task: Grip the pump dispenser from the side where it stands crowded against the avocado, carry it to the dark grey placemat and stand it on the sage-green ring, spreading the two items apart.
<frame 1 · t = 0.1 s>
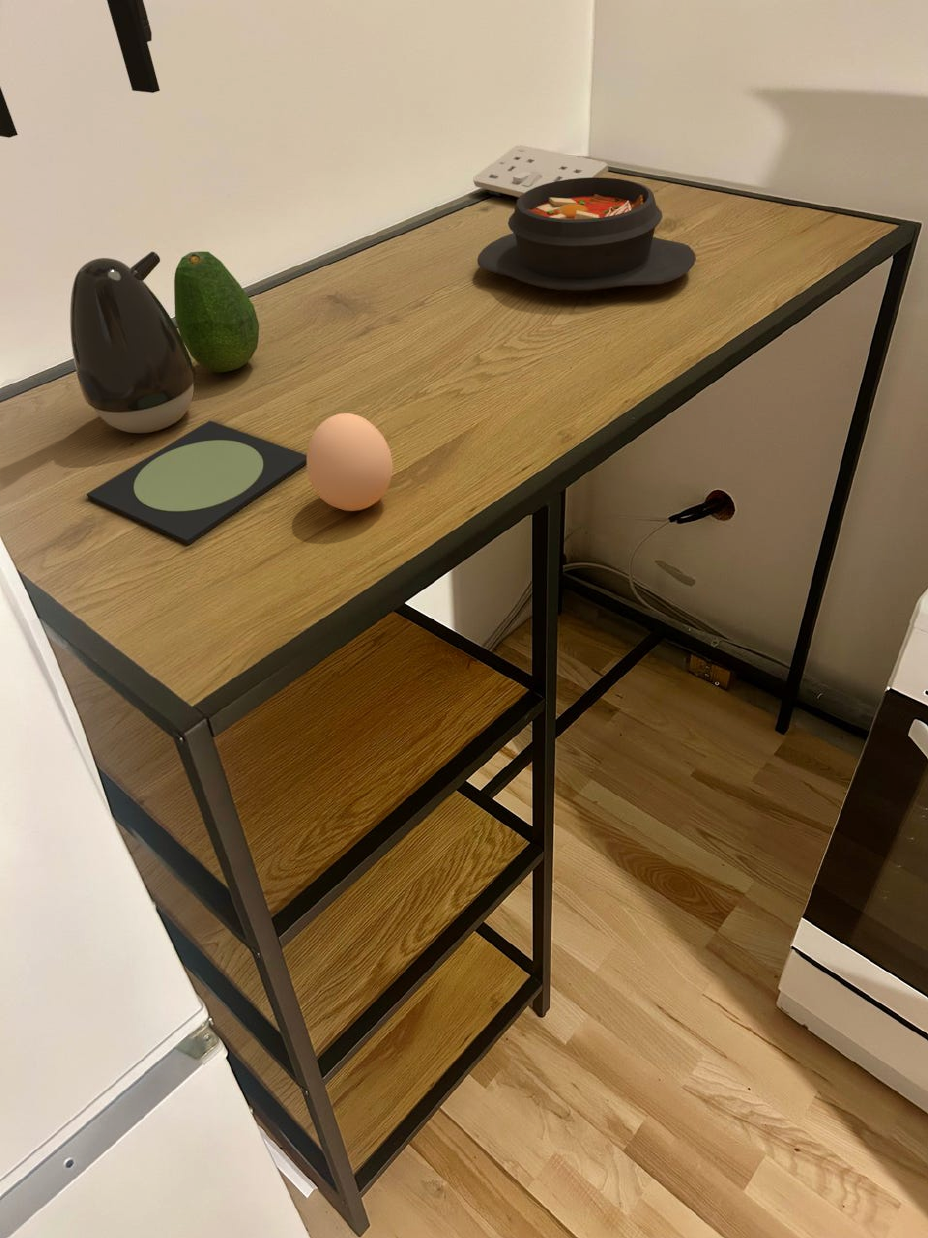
hand: (78, 111, 73), 26 cm above the table, tool pointing down, fingers open, 13 cm apart
casserole: (584, 275, 106), on the table
pump dispenser: (154, 420, 88), on the table
wall socket: (537, 198, 128), on the table
placemat: (200, 479, 79), on the table
avocado: (231, 370, 95), on the table
egg: (357, 506, 75), on the table
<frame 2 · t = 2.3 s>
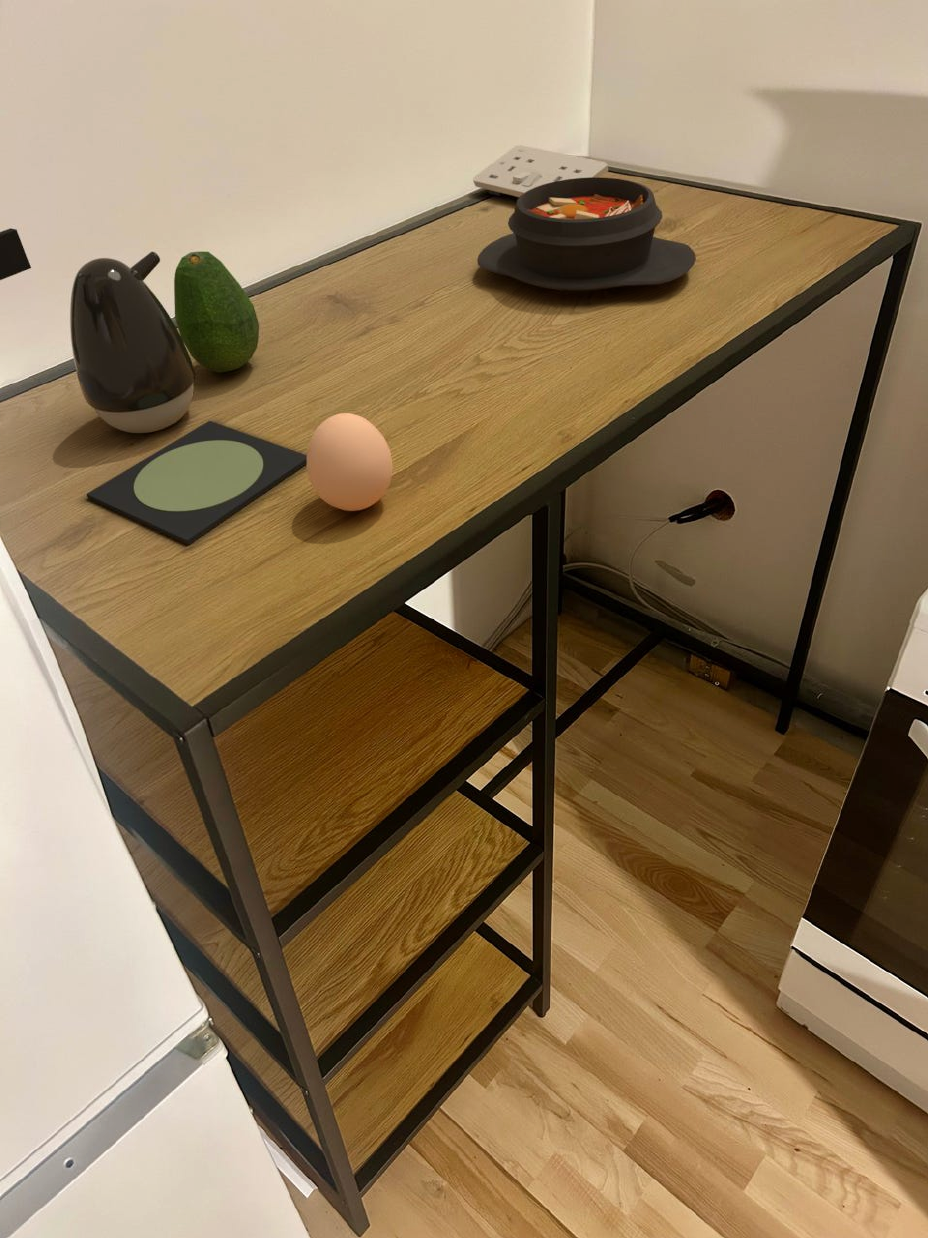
nothing on the table moved.
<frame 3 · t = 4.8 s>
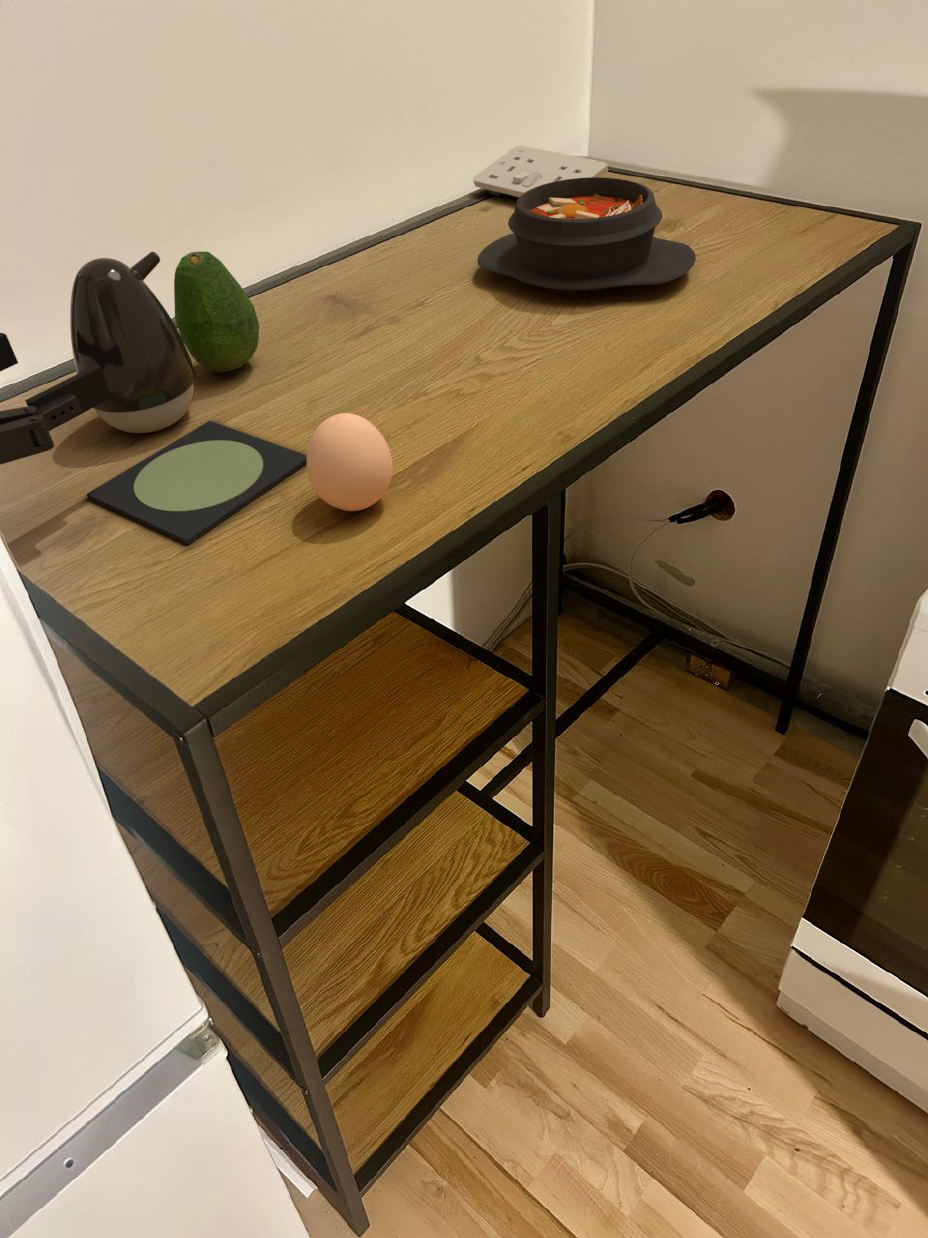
hand: (55, 363, 78), 9 cm above the table, tool horizontal, fingers open, 13 cm apart
nothing on the table moved.
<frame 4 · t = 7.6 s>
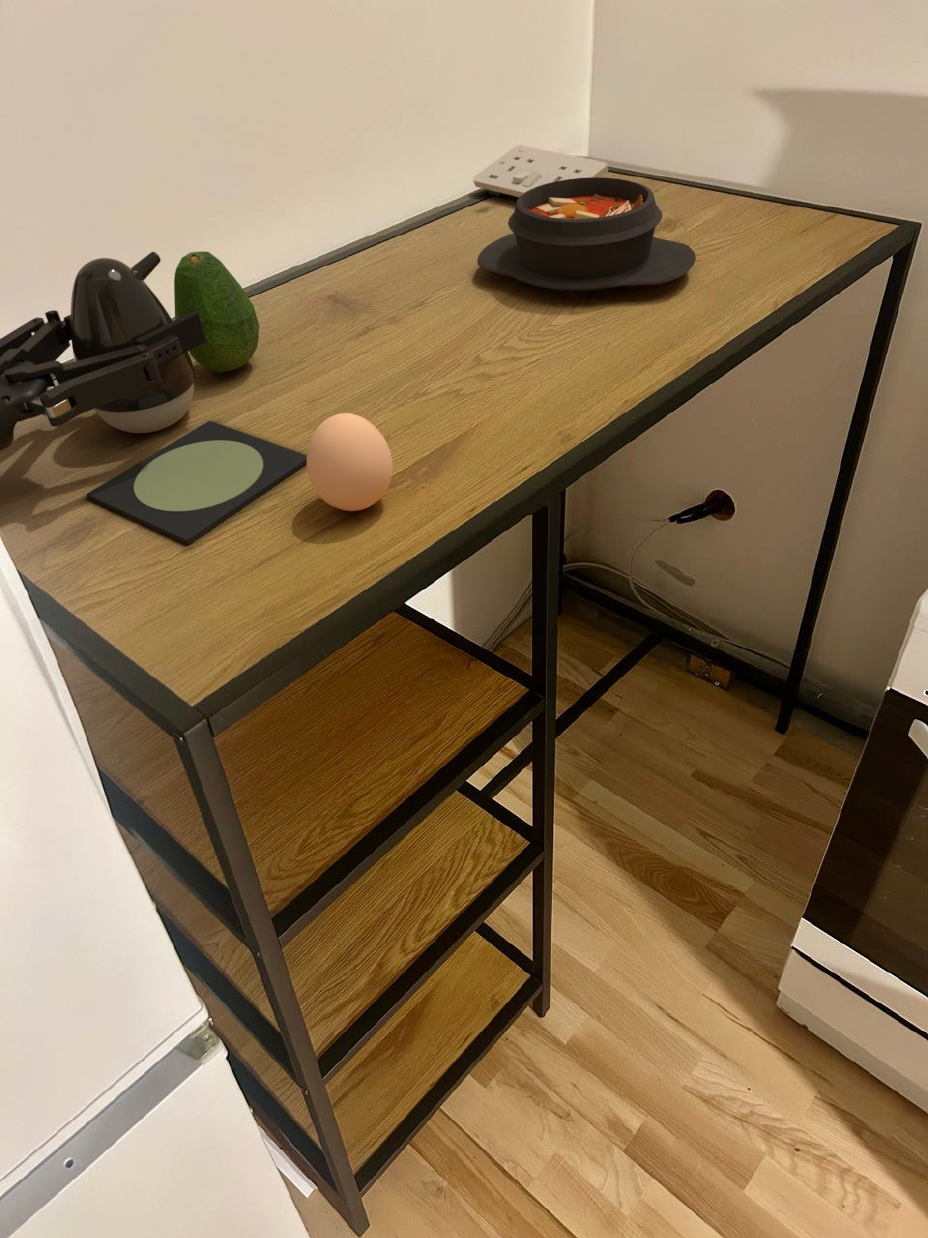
hand: (162, 315, 85), 8 cm above the table, tool horizontal, fingers closed on pump dispenser, 9 cm apart
pump dispenser: (154, 420, 88), on the table, touching gripper
everything else where it was.
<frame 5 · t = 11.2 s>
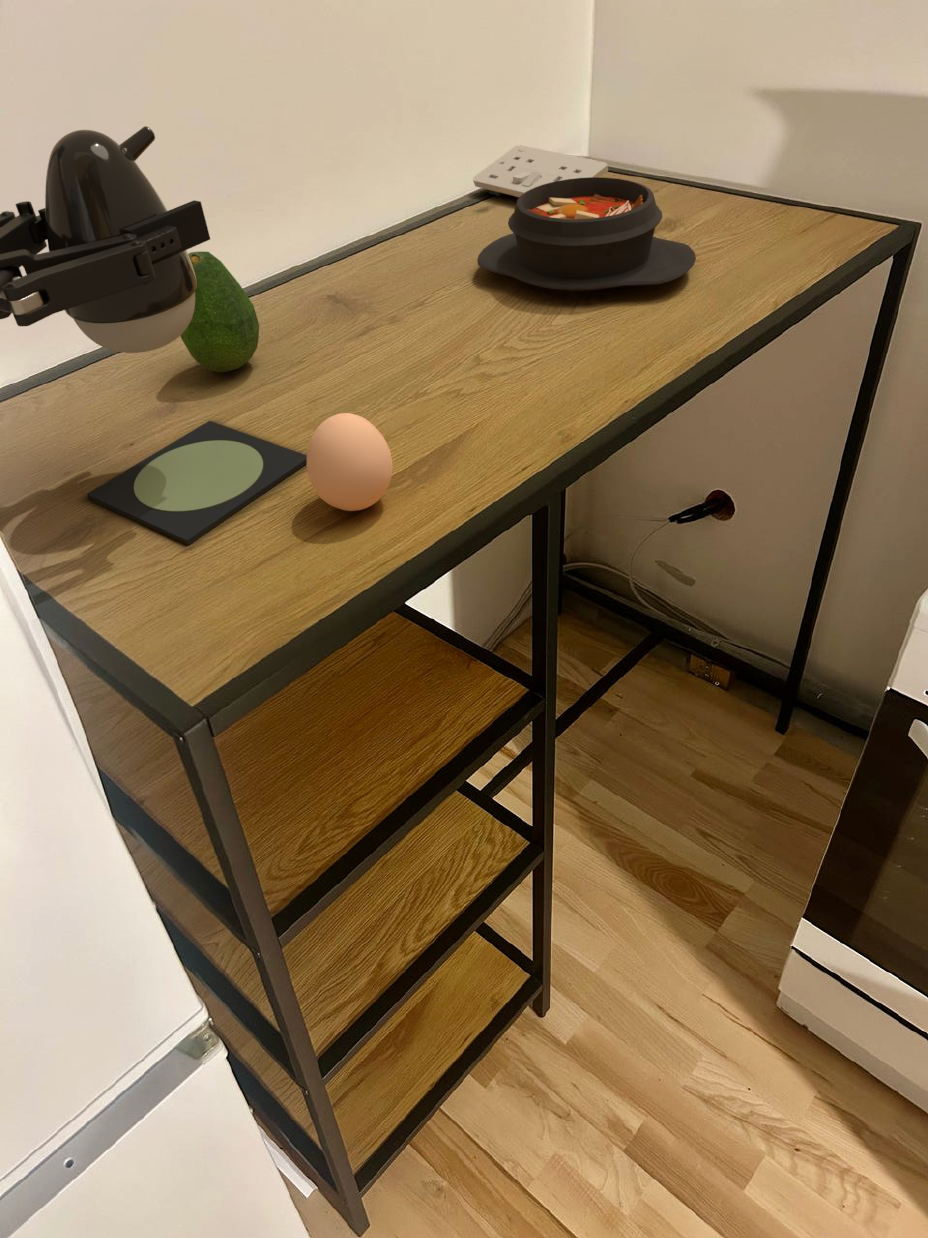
hand: (158, 211, 71), 20 cm above the table, tool horizontal, fingers closed on pump dispenser, 9 cm apart
pump dispenser: (147, 340, 74), point 11 cm above the table, touching gripper
everything else where it was.
when the fingers open (9 cm above the table, at t = 15.1 s): pump dispenser stays where it is, resting on placemat.
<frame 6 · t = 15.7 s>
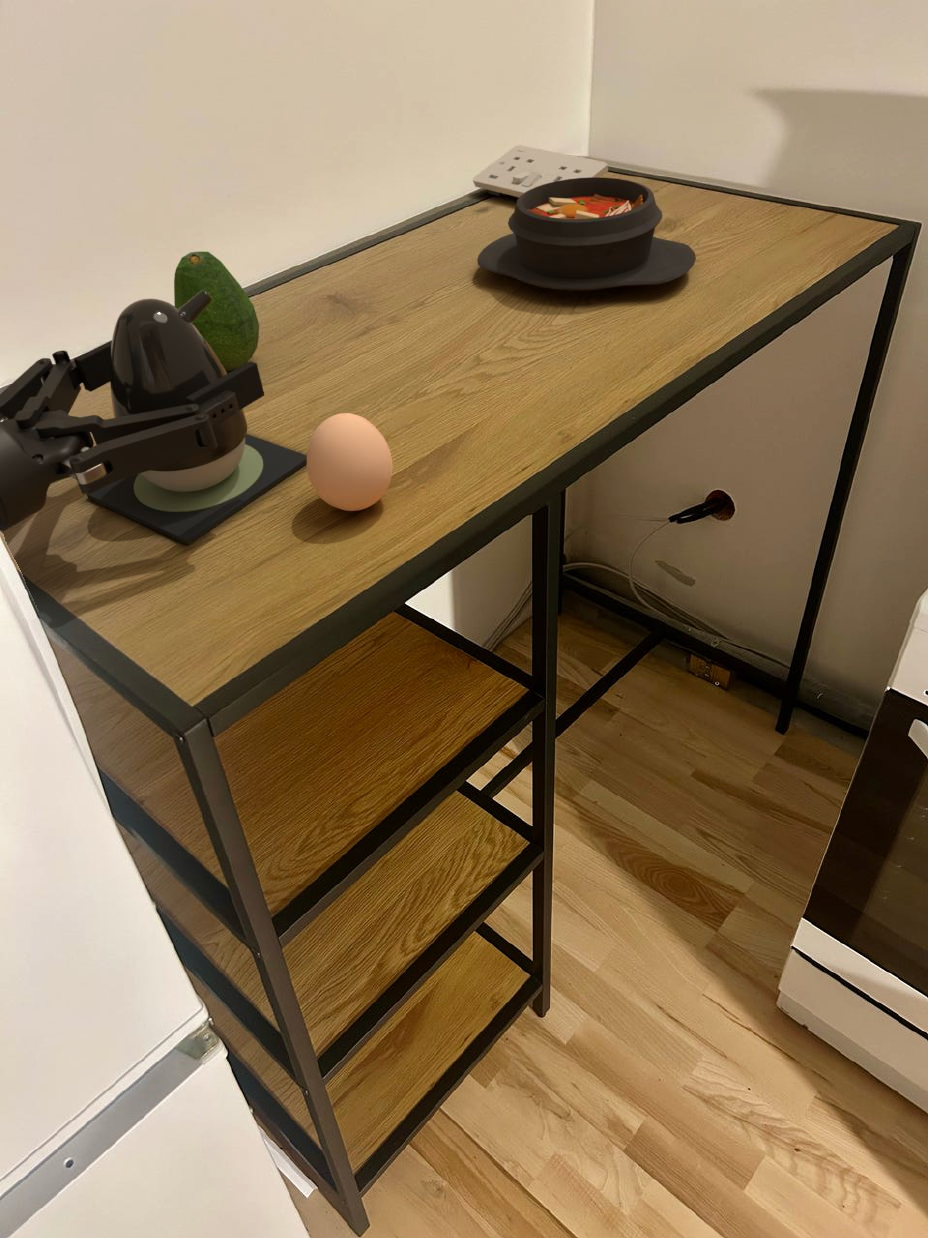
hand: (199, 359, 75), 10 cm above the table, tool horizontal, fingers open, 13 cm apart
pump dispenser: (199, 475, 79), resting on placemat
everything else where it was.
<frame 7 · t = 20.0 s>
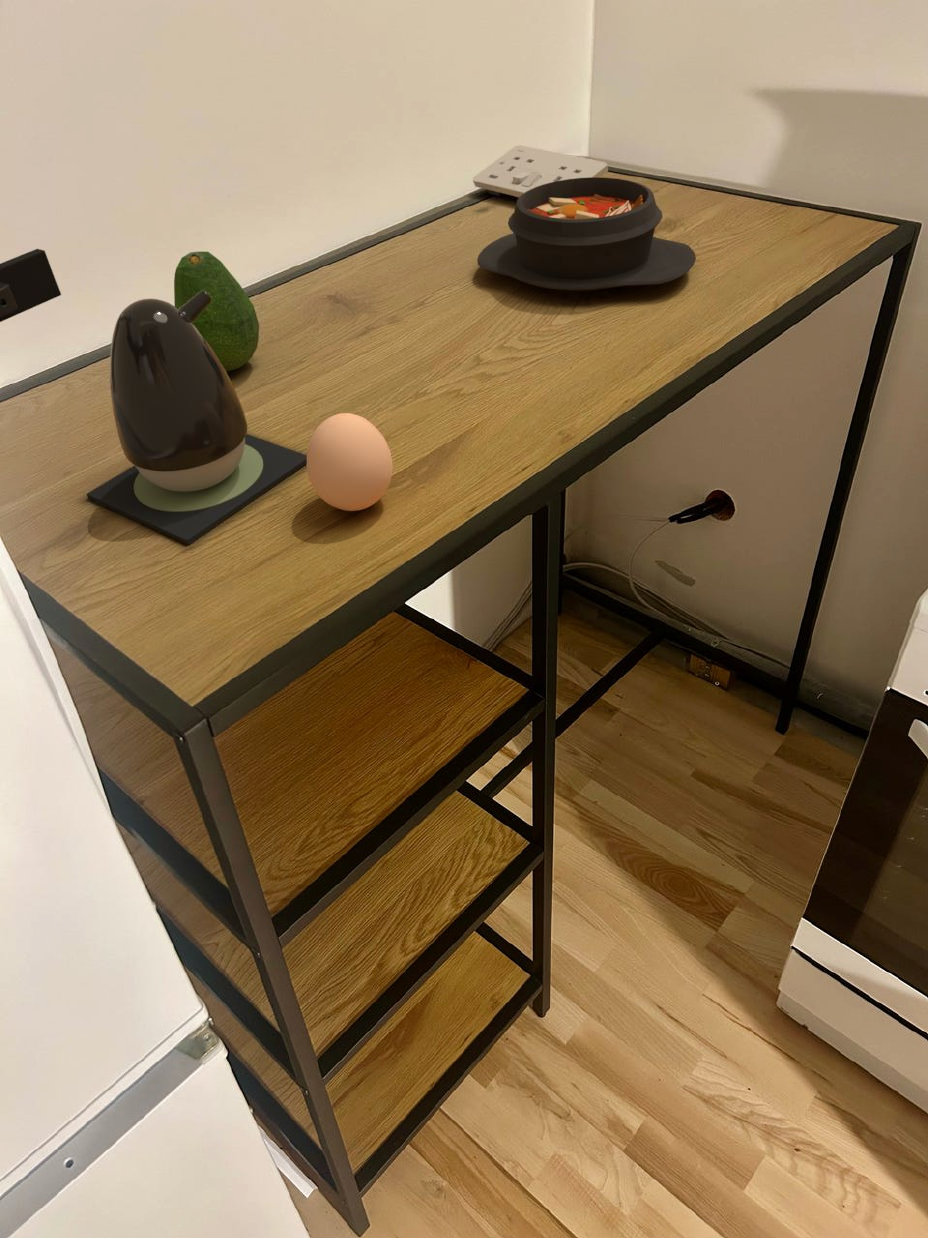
nothing on the table moved.
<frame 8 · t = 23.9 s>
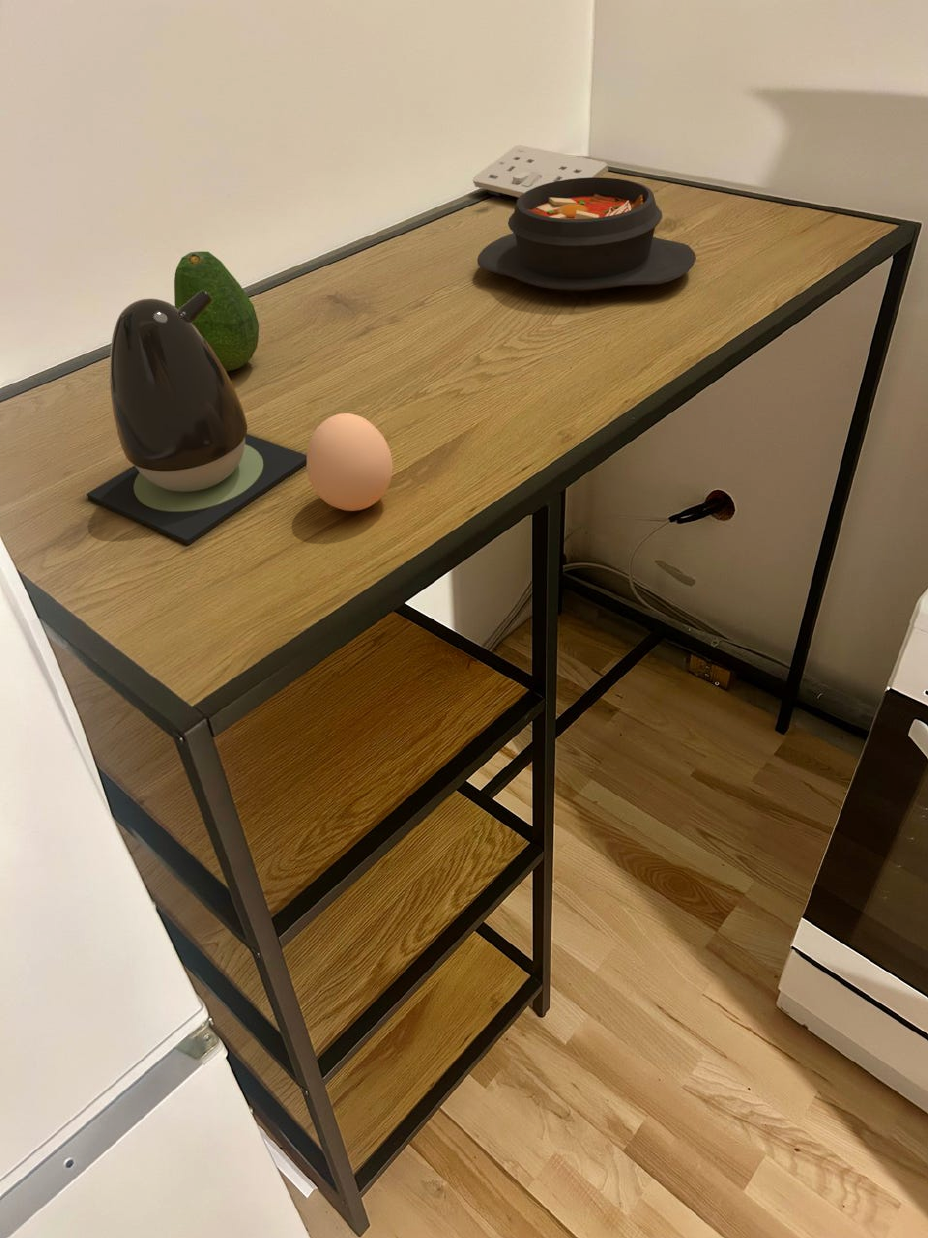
nothing on the table moved.
at the end: pump dispenser inside the target area (0.1 cm from its centre), resting on placemat; pump dispenser tilted 0°; avocado moved 0.2 cm from its start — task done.
